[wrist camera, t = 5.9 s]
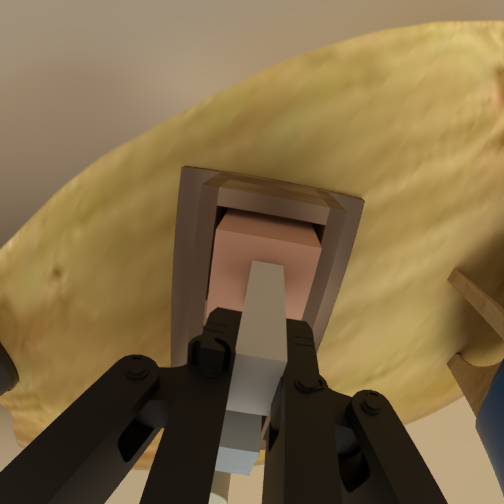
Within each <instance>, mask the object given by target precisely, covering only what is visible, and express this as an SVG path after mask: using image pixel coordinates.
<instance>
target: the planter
mask: <svg viewBox="0 0 504 504" xmlns="http://www.w3.org/2000/svg"><path fill="white" fill-rule="evenodd" d="M448 281H449V282H450V283H451V284H452V285H453V286H454V287H455V288H456V289H457V290H458V291H459V292H460V293H461V294H462V295H463V296H464V297H465V298H466V299H467V301H468V302H469V303H470V304H471V305H472V306H473V307H474V308H475V309H476V310H477V311H478V312H479V313H480V314H481V315H482V317H483V318H484V319H485V320H486V321H487V322H488V323H489V324H490V325H491V327H492V328H493V329H494V330H495V331H496V332H497V334H498V335H499V336H500V337H501V338H502V339H503V341H504V308H502V307H501V306H500V305H499V304H498V303H497V302H495V301H494V300H493V299H492V298H491V297H490V296H488V295H487V294H486V293H485V292H484V291H482V290H481V289H480V288H479V287H478V286H477V285H475V284H474V283H473V282H472V281H471V280H470V279H468V278H467V277H466V276H465V275H464V274H462V273H461V272H459V271H457V270H456V269H454V270H453V272H452V274H451V275H450V277H449V279H448ZM447 366H448V367H449V369H450V371H451V372H452V374H453V376H454V378H455V379H456V381H457V383H458V385H459V386H460V388H461V390H462V392H463V394H464V395H465V397H466V399H467V401H468V402H469V405H470V406H471V408H472V410H473V412H474V414H475V416H476V418H477V419H476V430H477V432H478V434H479V436H480V439H481V441H482V443H483V445H484V448H485V450H486V452H487V454H488V457H489V459H490V461H491V464H492V466H493V469H494V471H495V474H496V476H497V479H498V481H499V484H500V487H501V490H502V492H503V496H504V359H503V360H502V361H501V362H499V363H497V364H495V365H491V366H487V367H477V366H473V365H472V364H470V363H468V362H467V361H466V360H465V359H464V358H463V357H462V355H459V354H455V355H454V356H453V358H452V359H451V360H450V361H449V362H448V364H447Z"/></svg>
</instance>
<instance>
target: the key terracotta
mask: <svg viewBox="0 0 504 504" xmlns="http://www.w3.org/2000/svg"><path fill="white" fill-rule="evenodd" d="M321 250H322V247H321V245H320V243H319V240H318V238H317V236H316V233H315V231H314V229H313V226H312V224H311V222H307V221H302V220H297V219H292V218H286V217H281V216H276V215H270V214H265V213H259V212H253V211H248V210H242V209H236V208H229V210H228V211H227V213H226V214H225V216H224V217H223V219H222V221H221V222H220V224H219V225H218V227H217V229H216V234H215V242H214V250H213V258H212V267H211V275H210V284H209V293H208V303H207V312H206V318H208V316H209V314H210V312H212V311H213V310H214V309H215V308H217V307H221V308H226V309H231V310H237V311H242V312H243V307H244V301H245V296H246V291H247V286H248V280H249V275H250V270H251V264H252V260H255V261H261V262H266V263H272V264H277V265H283V267H284V286H285V308H286V318H288V319H295V320H302V317H303V313H304V310H305V307H306V303H307V300H308V297H309V293H310V290H311V286H312V283H313V279H314V276H315V272H316V268H317V265H318V261H319V257H320V253H321Z"/></svg>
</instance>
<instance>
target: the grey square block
mask: <svg viewBox="0 0 504 504" xmlns="http://www.w3.org/2000/svg"><path fill="white" fill-rule="evenodd" d="M261 423H262V415H256V414H249V413H243V412H237V411H231V410H226V412H225V417H224V423H223V428H222V433H221V439H220V444H219V450H218V455H217V461H216V466H215V470H216V471H222V472H228V473H235V474H242V475H250V472H251V470H252V468H253V466H254V464H255V461H256V459H257V457H258V455H259V452H260V438H261Z"/></svg>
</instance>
